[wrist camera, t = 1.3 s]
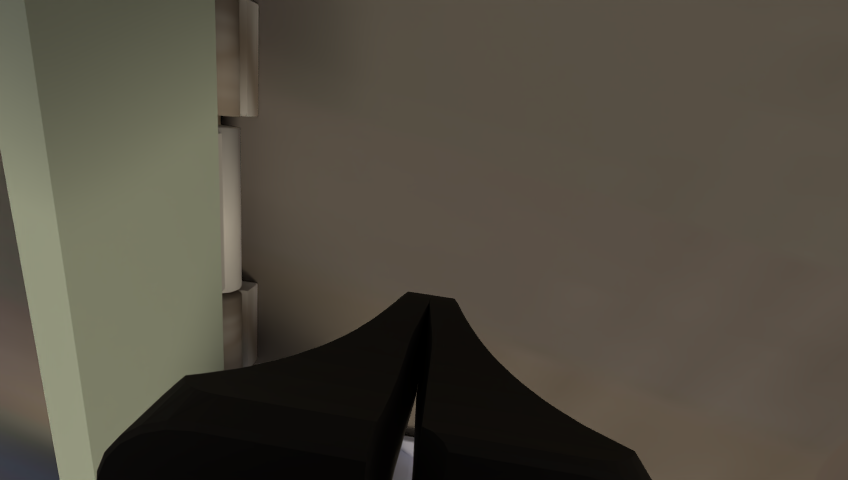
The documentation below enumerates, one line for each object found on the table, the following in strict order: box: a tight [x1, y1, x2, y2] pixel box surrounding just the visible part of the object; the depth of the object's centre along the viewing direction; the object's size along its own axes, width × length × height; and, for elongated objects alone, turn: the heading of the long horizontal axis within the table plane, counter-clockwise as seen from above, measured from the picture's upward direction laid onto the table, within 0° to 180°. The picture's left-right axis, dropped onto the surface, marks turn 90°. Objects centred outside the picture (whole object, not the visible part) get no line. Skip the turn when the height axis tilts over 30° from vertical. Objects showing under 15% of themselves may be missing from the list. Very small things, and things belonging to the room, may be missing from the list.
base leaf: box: [215, 0, 259, 370], centre depth 19 cm, size 18×11×3 cm, turn 173°
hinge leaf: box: [0, 0, 242, 480], centre depth 15 cm, size 18×10×2 cm
